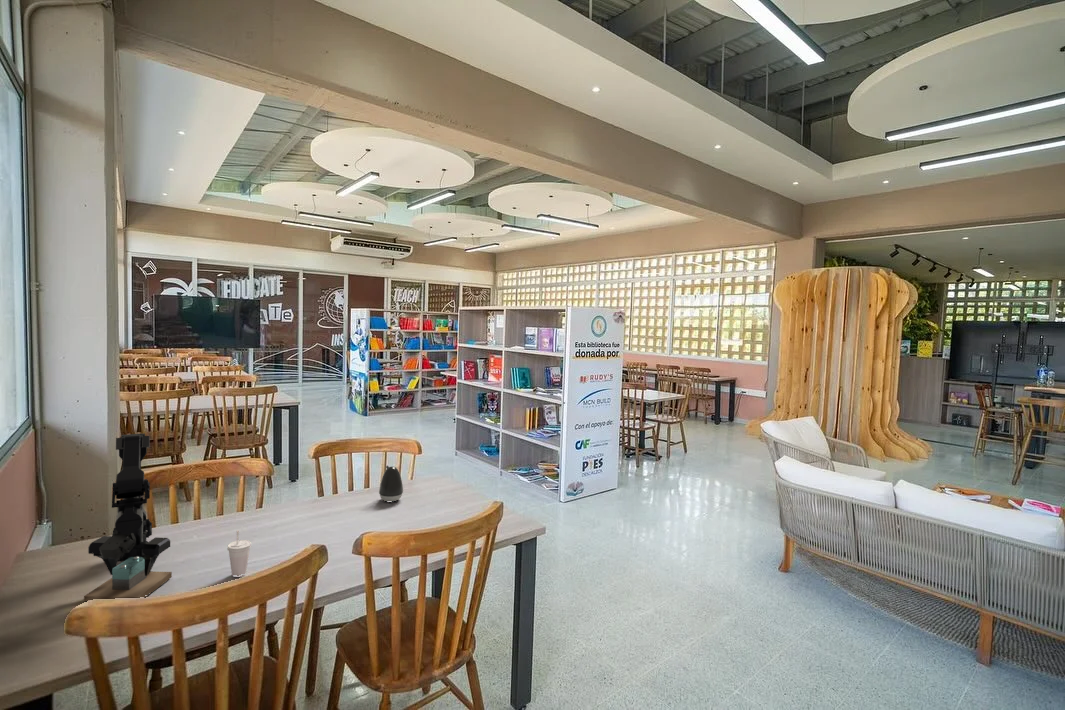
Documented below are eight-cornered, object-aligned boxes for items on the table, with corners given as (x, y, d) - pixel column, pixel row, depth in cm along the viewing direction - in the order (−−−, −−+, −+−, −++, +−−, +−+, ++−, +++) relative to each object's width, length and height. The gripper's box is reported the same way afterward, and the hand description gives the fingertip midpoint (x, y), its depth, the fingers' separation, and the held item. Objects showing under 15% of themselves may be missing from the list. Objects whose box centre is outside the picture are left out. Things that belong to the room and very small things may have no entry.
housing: (130, 577, 149) (130, 555, 148) (146, 577, 149) (146, 556, 149) (112, 589, 142) (112, 567, 141) (129, 590, 142) (129, 567, 142)
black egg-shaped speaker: (396, 494, 234) (397, 462, 233) (406, 501, 226) (407, 467, 225) (374, 499, 227) (375, 465, 226) (384, 506, 219) (385, 471, 218)
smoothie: (224, 574, 157) (224, 529, 156) (247, 567, 161) (248, 524, 161) (230, 582, 152) (230, 536, 152) (253, 575, 157) (254, 531, 156)
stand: (83, 603, 138) (83, 596, 138) (122, 577, 152) (122, 570, 152) (138, 604, 139) (138, 597, 139) (171, 578, 153) (171, 571, 153)
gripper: (71, 531, 136) (71, 589, 137) (144, 533, 137) (144, 590, 138) (103, 515, 147) (103, 568, 148) (171, 517, 148) (171, 570, 149)
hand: (130, 574), depth 145 cm, fingers open, 9 cm apart
